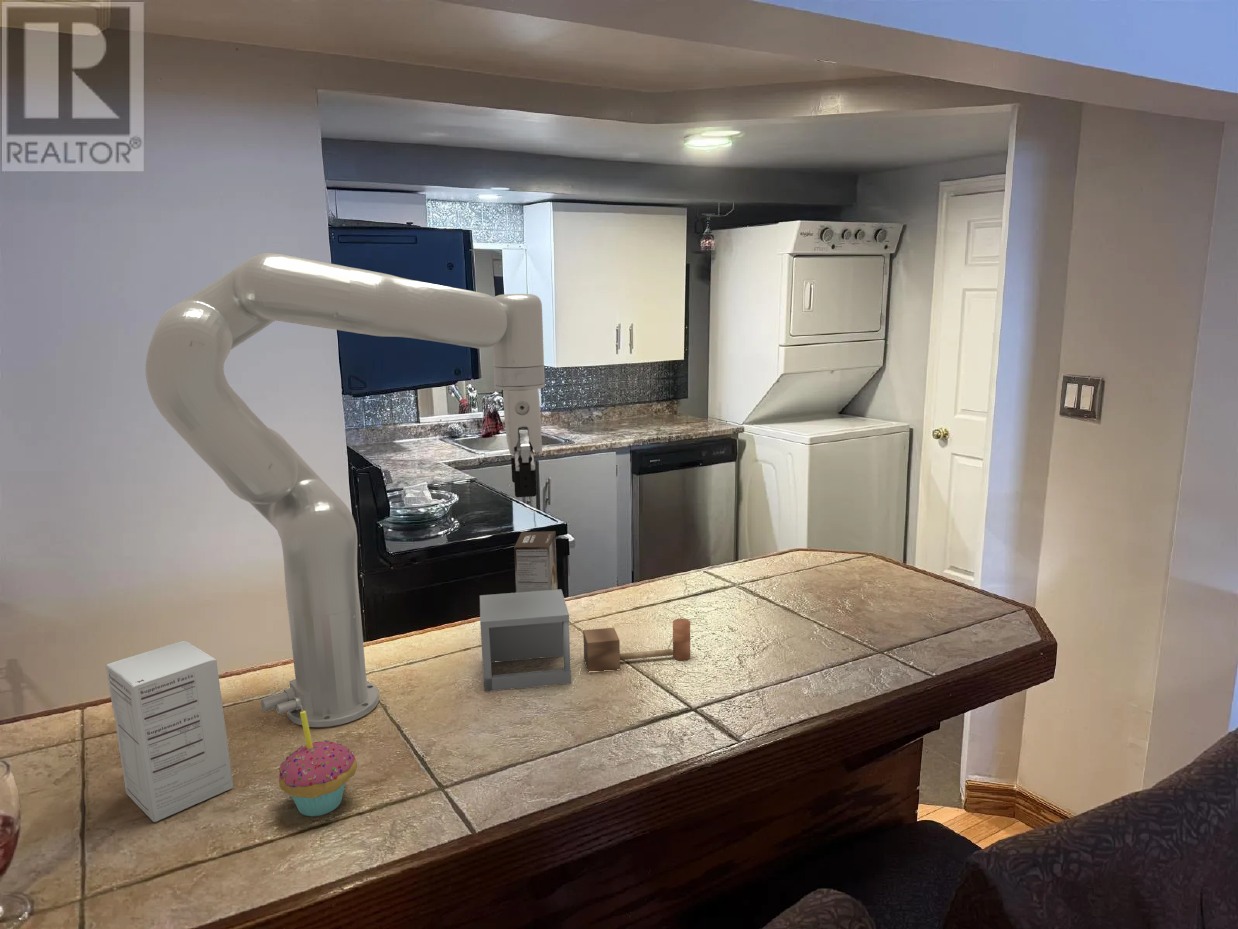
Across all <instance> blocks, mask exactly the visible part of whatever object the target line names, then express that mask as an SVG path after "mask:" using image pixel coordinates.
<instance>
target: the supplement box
mask: <svg viewBox="0 0 1238 929" xmlns="http://www.w3.org/2000/svg"><path fill="white" fill-rule="evenodd" d="M217 661H218V660H217V659H216V658H215V657H213V656H211V655H210V654H207V652H205V651H203V650H201V649H200V648H198V647H197V646H195V645H193V644H192V643H190V642H189V641H188V640H182V641H177V642H174V643H171V644H167V645H165V646H164V645H163V646H161V647H157V648H154V649H151V650H148V651H145V652H141V653H138V654H136V655H132V656H129V657H125V658H122V659H119V660H116V661H113V662H110V663H109V662H108V663H107V664H105V671H106V676H107V682H108V687H109V693H110V700H111V706H112V711H113V716H114V722H115V726H116V736H117V743H118V748H119V756H120V762H121V766H122V767H121V768H122V774H123V782H124V787H125V792H126V795H127V796H128V797H129V798H130V799H131V800H132V801H133V802H134V803H135V805H137V806H138V807H139V809H141V810H142V811H143V812H144V813H145V815H146V816H147V817H148V818H149V819H150V820H151V821H152V822H153V823H157V822H158V821H161V820H163V819H166V818H168V817H170V816H172V815H175V814H176V813H180V812H181V811H185V809H189V808H190V807H192V806H195V805H196V804H197V805H198V804H200V803H202V802H204V801H207V800H208V799H211V798H213V797H215V796H217V795H220V794H223V793H224V792H226V791H229V790H231V789H233V788H234V781H233V775H232V766H231V759H230V754H229V752H230V751H229V745H228V737H227V730H226V728H227V727H226V721H225V714H224V708H223V707H224V706H223V701H222V700H223V699H222V698H223V697H222V692H221V685H220V676H219V670H218V668H219V667H218V662H217Z"/></svg>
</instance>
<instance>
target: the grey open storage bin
mask: <svg viewBox="0 0 1238 929" xmlns="http://www.w3.org/2000/svg"><path fill="white" fill-rule="evenodd" d="M557 589H558V588H557ZM567 606H568V605H567V604H566V600H565V596H564V594H563V590H562V589H561V588H560V589H558V590H545V591H532V592H519V593H516V592H510V593H509V592H508V593H496V594H493V593H492V594H483V595H482V594H481V595H479V617H480V620H479V623H480V640H481V661H482V675H483V676H482V677H483V692H484V691H485V692H493V691H494V690H496V691H504V690H503V689H506V690H512V689H511V688H517V689H525V688H526V687H527V688H534V687H535V688H538V687H546V686H545V685H549V686H556V685H555V684H559V685H569V684H572V671H571V649H570V645H571V644H570V613H569V610H568V608H567ZM557 656H558V657H563V660H562V661H563V668H558V669H545V670H536V671H535V670H534V671H525V672H515V673H514V672H513V673H503V674H492V663H496V662H495V661H502V662H510V661H523V660H522V659H524V660H530V659H529V658H535V659H541V658H540V657H547V658H554V657H555V658H558V657H557ZM537 686H538V687H537Z"/></svg>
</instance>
